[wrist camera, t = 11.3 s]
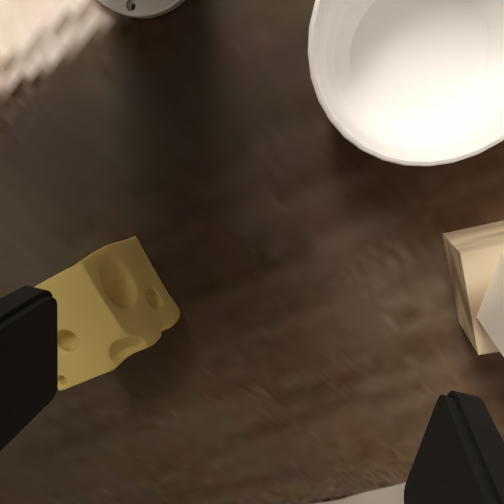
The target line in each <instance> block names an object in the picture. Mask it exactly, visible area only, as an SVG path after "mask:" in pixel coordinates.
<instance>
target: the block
mask: <svg viewBox="0 0 504 504" xmlns="http://www.w3.org/2000/svg"><path fill="white" fill-rule="evenodd" d="M443 239H444V244H445V250H446V255H447V261H448V266H449V271H450V277H451V282H452V287H453V293H454V298H455V304H456V309H457V314H458V320H459V323H460V325H461V327H462V328H463V330H464V332H465V333H466V335H467V337H468V339H469V340H470V342H471V344H472V345H473V347H474V349H475V350H476V352H477V354H478V355H482V354H489V353H496V352H500V351H499V349H498V348H497V346H496V345H495V344H494V342H493V341H492V339H491V338H490V336H489V335H488V333H487V332H486V330H485V329H484V328H483V326H482V325H481V323H480V322H479V320H478V319H477V314H478V312H479V309H480V306H481V304H482V301H483V298H484V296H485V293H486V290H487V288H488V285H489V282H490V279H491V277H492V274H493V271H494V269H495V266H496V263H497V261H498V258H499V255H500V253H502V254H504V220H503V221H498V222H494V223H489V224H484V225H480V226H475V227H471V228H466V229H461V230H457V231H452V232H448V233H443Z"/></svg>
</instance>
